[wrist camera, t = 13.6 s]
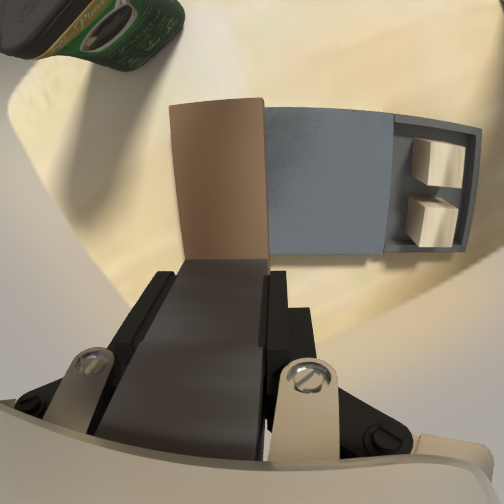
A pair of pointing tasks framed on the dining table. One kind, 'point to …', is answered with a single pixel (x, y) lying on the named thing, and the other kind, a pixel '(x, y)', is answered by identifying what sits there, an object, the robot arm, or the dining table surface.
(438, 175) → the chip
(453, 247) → the tray
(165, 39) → the coffee jar
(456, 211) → the pale wooden cube
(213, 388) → the brown handled push block
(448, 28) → the dining table surface
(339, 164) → the board
